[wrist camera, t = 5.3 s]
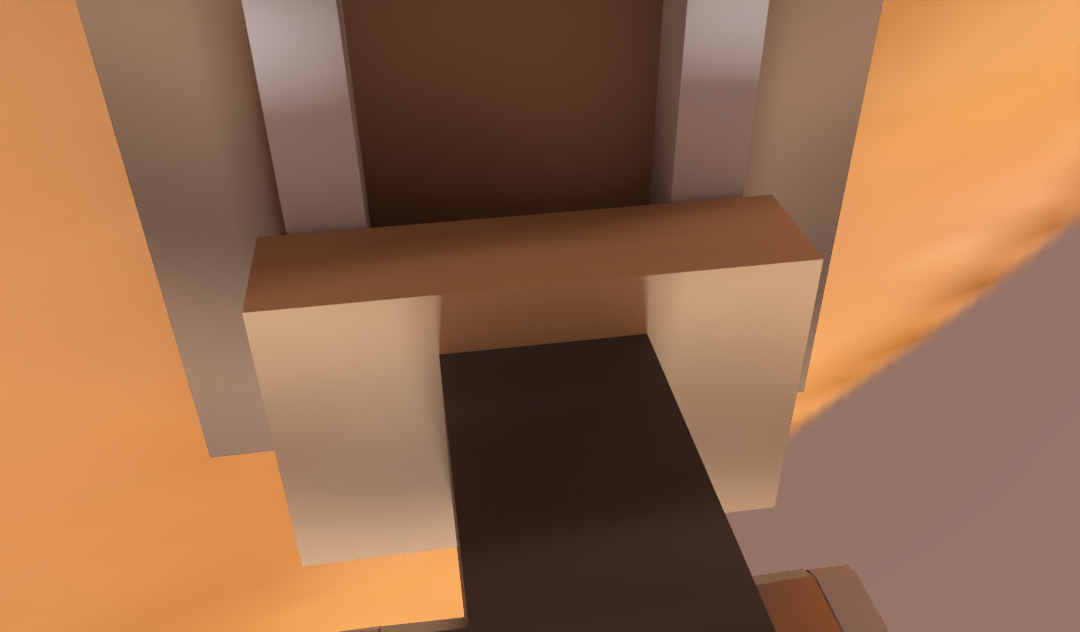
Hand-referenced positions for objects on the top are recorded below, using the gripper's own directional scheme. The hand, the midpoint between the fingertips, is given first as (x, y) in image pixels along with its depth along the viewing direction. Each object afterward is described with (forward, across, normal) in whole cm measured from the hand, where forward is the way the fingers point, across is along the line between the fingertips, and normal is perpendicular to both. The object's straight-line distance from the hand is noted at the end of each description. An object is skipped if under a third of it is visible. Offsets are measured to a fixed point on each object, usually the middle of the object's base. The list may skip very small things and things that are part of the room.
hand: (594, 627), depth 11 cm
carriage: (+6, 0, 0) cm, 6 cm away
